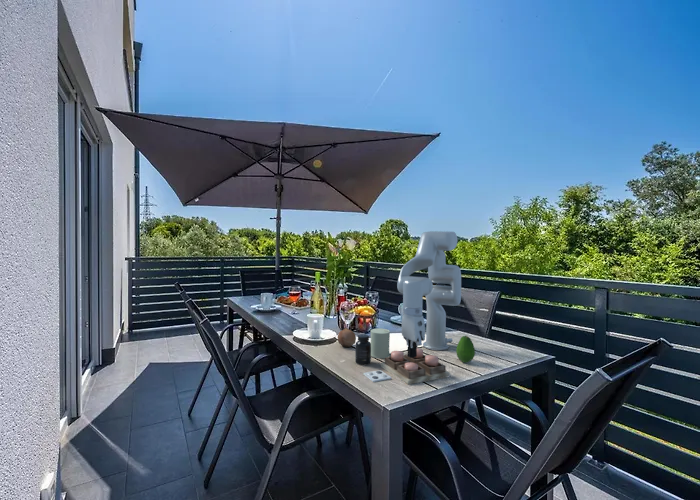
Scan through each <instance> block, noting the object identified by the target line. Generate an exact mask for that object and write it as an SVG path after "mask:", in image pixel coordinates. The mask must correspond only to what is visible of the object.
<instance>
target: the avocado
mask: <svg viewBox="0 0 700 500" xmlns="http://www.w3.org/2000/svg"><path fill="white" fill-rule="evenodd" d="M455 350H456V357H457V358H458V360H459V361H460V362H462V363H466V364H467V363H469V362H472V360H474V358H475V355H476V349H475V345H474V343H473V341H472V339H471V338H470V337H469V336H467V335H463V336H461V337H460V339H459V341H458V342H457V345H456V349H455Z"/></svg>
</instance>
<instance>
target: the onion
mask: <svg viewBox="0 0 700 500" xmlns="http://www.w3.org/2000/svg"><path fill="white" fill-rule="evenodd" d="M356 340H357V336H356V333H355V331H352V330H351V329H349V328H347V327H345V328H343V329H342V330H340V331H339V332H338V334H337V341H338V344H340V346H341V347H343V348H351V347H352V346H353V345H354V344H355V345H356V342H357V341H356Z"/></svg>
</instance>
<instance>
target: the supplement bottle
mask: <svg viewBox="0 0 700 500" xmlns="http://www.w3.org/2000/svg"><path fill="white" fill-rule="evenodd" d="M369 340H370V335H368V334H363V333H362V334H358V335H357V341H356V342H355V351H354V353H355V358H354V359H355V363H356V364H357V365H359V366H368V365H370V364H371V363H372V361H371V360H372V356H371V341H369Z"/></svg>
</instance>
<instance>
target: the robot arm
mask: <svg viewBox="0 0 700 500" xmlns="http://www.w3.org/2000/svg"><path fill="white" fill-rule="evenodd" d="M457 245H458V236H457V233H456V232H455V231H448V230H447V231H445V230H444V231H441V230H440V231H438V230H435V231H434V230H433V231H432V230H431V231H425V232H422V233H421V234H420V238H419V242H418V245H417V250H416V253H415V255H414V257H412V258H411V259H409V260H408V261H407V262H406V263H405V264H404V265H403V266H402V267H401V269H400V272H399V275H398V279H397V284H396V286H397V291H398V292H399V293H400V294H402V298H403V299H402V318H401V336H403V337H402V338H403V339H404V340H405V341H406V347H407V354H408V357H410V358H413V357H416V356H417V348H419V346H422V347H423V348H426V349H428V350H431V351H432V350H433V351H446V350H448V349H449V345H448V343H452V342H453V338H451V337H449V338H447V337H446V325H447V324H446V322H447V313H446V311H445V309H444V307H443V305H444V306H452V307H455V306H459V305H460V304H461V300H462V272H461V268H460V267H459V266H458V265H455V264H446V262H447V261H446V253H445V252H446V251H447V252H448V251H453V250H455V248H457ZM444 251H445V252H444ZM424 269H427V271H428V272H427V273H428V275H427V276H428V277H426V276H412V274H414V273H415V272H418V271H421V270H424ZM433 283H434V284H435V285H434V284H433ZM438 284H442V285H438ZM445 284H447V285H445ZM448 285H450V286H448ZM424 296H425V301H426V302H425V304H426V325H425V319H424V316H423V300H424V299H423V297H424ZM425 326H426V327H425Z"/></svg>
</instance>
